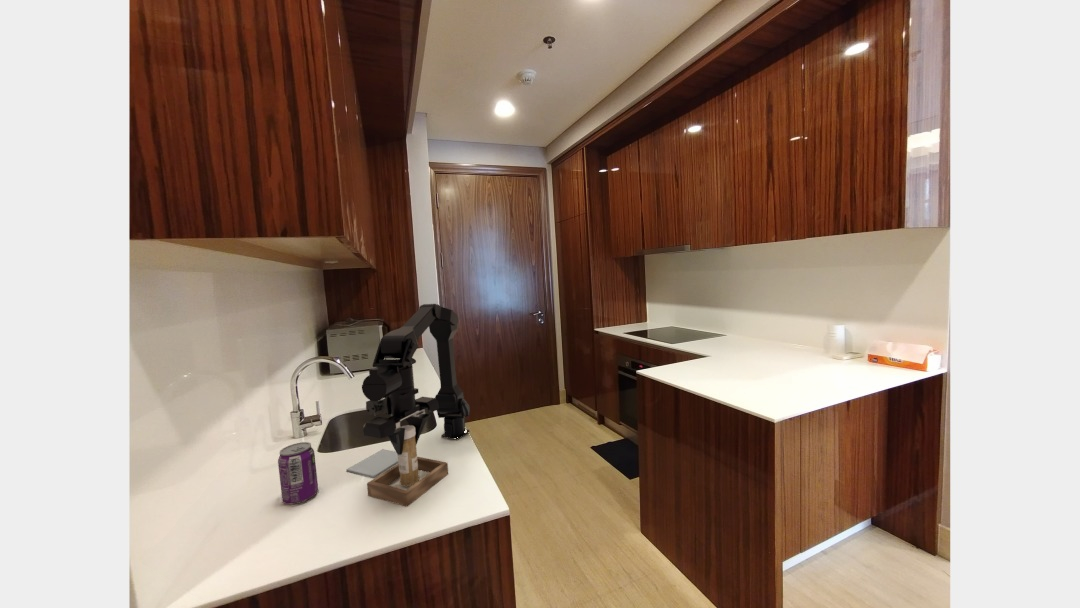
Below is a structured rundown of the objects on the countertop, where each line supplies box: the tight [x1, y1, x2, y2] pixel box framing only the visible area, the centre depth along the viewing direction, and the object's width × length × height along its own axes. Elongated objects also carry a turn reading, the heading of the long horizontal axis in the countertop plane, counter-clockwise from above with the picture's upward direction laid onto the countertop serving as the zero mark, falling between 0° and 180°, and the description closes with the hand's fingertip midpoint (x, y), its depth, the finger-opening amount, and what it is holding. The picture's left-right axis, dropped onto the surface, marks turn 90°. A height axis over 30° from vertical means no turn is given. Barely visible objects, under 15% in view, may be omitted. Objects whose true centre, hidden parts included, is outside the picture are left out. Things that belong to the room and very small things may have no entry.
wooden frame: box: [366, 456, 449, 507], centre depth 90 cm, size 14×12×3 cm
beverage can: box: [277, 441, 319, 505], centre depth 86 cm, size 7×7×12 cm
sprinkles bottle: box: [397, 424, 420, 487], centre depth 89 cm, size 5×5×13 cm
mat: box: [346, 448, 398, 479], centre depth 101 cm, size 12×10×1 cm
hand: (406, 450), depth 89 cm, fingers closed on sprinkles bottle, 4 cm apart
